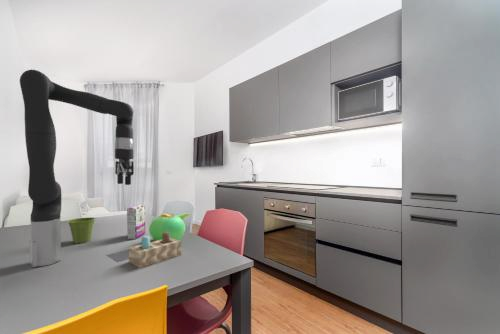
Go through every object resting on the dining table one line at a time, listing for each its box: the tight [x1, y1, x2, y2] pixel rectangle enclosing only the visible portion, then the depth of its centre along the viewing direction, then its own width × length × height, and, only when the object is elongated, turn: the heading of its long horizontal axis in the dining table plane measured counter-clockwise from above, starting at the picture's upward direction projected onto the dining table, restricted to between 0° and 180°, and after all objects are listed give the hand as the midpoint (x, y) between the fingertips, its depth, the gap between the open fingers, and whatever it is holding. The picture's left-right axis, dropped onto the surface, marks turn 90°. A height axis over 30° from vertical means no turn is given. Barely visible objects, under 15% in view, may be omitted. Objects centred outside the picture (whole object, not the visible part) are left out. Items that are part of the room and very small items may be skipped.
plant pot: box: [67, 217, 96, 244], centre depth 126 cm, size 12×12×11 cm
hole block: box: [128, 238, 182, 269], centre depth 102 cm, size 18×9×6 cm, turn 140°
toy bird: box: [148, 212, 191, 241], centre depth 125 cm, size 18×17×15 cm
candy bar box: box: [126, 204, 146, 240], centre depth 134 cm, size 11×5×16 cm, turn 179°
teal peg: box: [141, 235, 151, 250], centre depth 98 cm, size 3×3×10 cm
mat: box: [105, 248, 129, 263], centre depth 106 cm, size 12×12×1 cm
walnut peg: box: [162, 231, 170, 244], centre depth 105 cm, size 3×3×10 cm
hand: (124, 184), depth 111 cm, fingers open, 8 cm apart
